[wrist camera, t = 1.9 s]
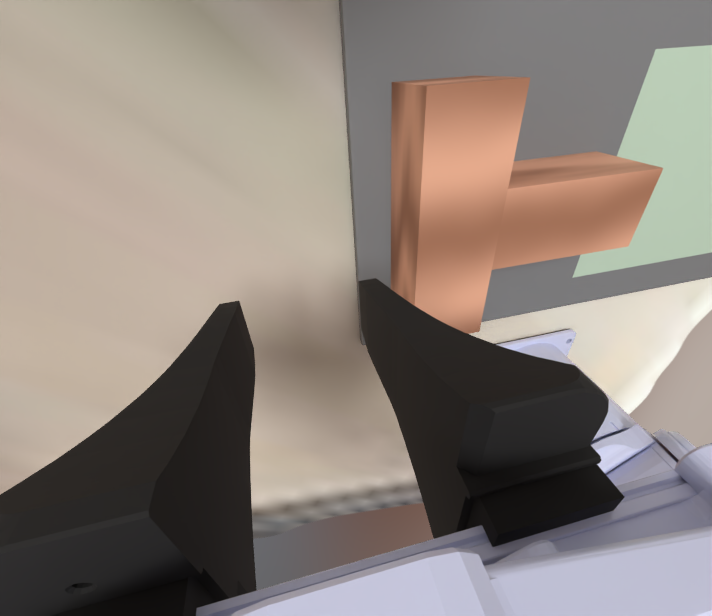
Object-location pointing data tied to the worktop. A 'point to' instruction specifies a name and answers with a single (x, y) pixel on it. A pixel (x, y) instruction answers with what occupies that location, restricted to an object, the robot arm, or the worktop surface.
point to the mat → (549, 122)
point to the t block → (492, 195)
